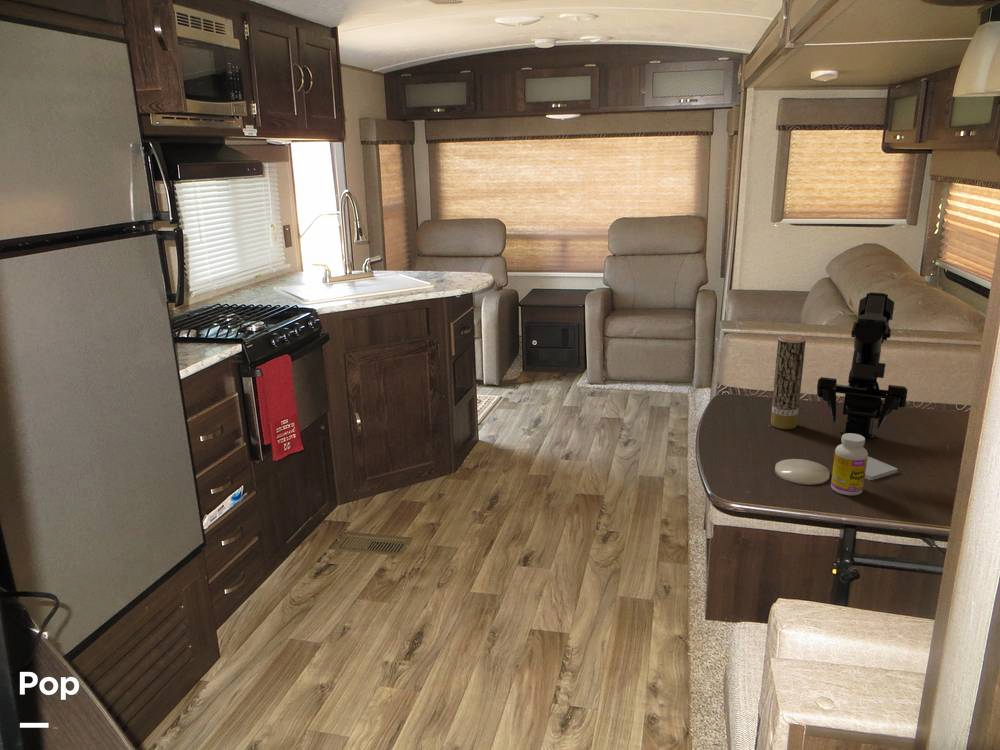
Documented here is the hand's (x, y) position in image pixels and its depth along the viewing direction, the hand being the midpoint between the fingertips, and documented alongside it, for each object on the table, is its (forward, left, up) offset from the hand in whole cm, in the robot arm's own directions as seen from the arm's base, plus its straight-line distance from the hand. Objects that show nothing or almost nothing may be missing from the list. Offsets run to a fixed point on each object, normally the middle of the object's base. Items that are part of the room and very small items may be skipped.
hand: (855, 424), depth 172 cm
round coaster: (+8, -7, -13) cm, 17 cm away
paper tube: (-11, -31, -13) cm, 35 cm away
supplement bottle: (+6, +4, -13) cm, 15 cm away
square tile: (-7, -1, -13) cm, 15 cm away
